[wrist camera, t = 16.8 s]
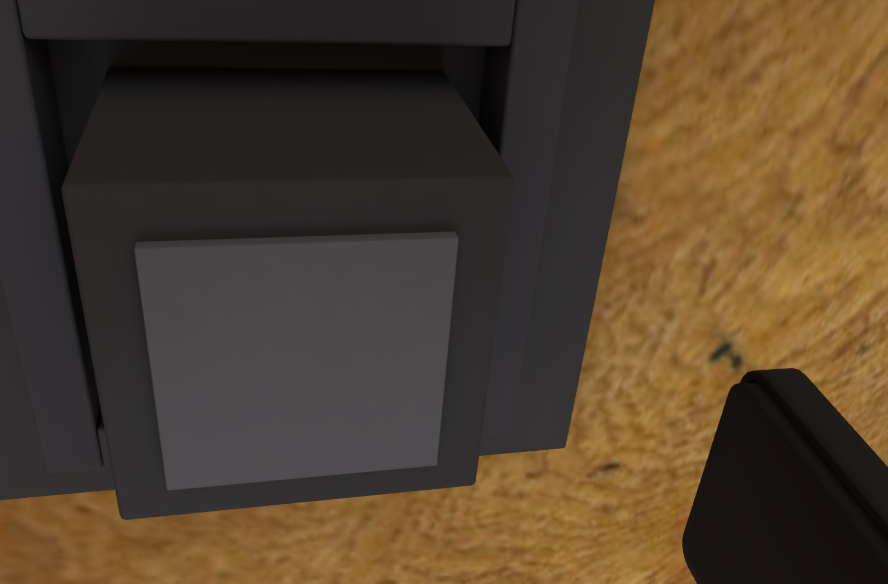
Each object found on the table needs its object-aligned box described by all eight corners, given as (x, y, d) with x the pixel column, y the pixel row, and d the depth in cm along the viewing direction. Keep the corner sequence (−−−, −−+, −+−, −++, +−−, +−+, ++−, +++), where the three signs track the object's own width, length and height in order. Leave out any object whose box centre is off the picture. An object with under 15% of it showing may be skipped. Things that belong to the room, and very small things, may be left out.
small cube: (444, 69, 15) (521, 184, 11) (424, 330, 17) (479, 496, 14) (107, 65, 13) (56, 193, 10) (145, 346, 16) (118, 533, 12)
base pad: (663, -171, 14) (736, -158, 12) (552, 421, 21) (587, 494, 19) (-222, -239, 11) (-323, -237, 9) (-17, 470, 18) (-49, 561, 16)
